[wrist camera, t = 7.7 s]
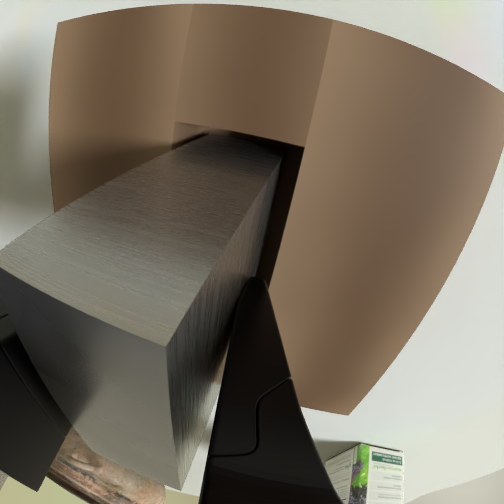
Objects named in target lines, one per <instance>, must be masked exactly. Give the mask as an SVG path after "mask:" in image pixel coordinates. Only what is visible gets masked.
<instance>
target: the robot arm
mask: <svg viewBox="0 0 504 504" xmlns="http://www.w3.org/2000/svg"><path fill="white" fill-rule="evenodd" d="M71 427H72V424H71V423H70V422H69V420H68V419H67V418H66V416H65V415H64V413H63V412H62V410H61V409H60V407H59V406H58V404H57V403H56V401H55V400H54V398H53V397H52V395H51V394H50V392H49V391H48V389H47V387H46V386H45V384H44V382H43V381H42V379H41V377H40V376H39V374H38V372H37V371H36V369H35V367H34V365H33V363H32V362H31V360H30V358H29V356H28V354H27V352H26V350H25V348H24V346H23V344H22V343H21V340H20V338H19V336H18V334H17V332H16V330H15V328H14V326H13V324H12V321H11V319H10V317H9V315H8V312H7V310H6V308H5V305H4V303H3V300H2V298H1V295H0V490H1V488H2V486H3V484H4V483H5V481H6V479H7V477H8V476H10V477H12V478H13V479H15V480H17V481H19V482H20V483H22V484H24V485H25V486H27V487H29V488H31V489H33V490H35V491H36V492H37V491H38V490H39V488H40V486H41V484H42V482H43V480H44V478H45V476H46V474H47V472H48V470H49V469H50V467H51V465H52V463H53V461H54V459H55V457H56V455H57V453H58V451H59V450H60V448H61V446H62V444H63V442H64V440H65V439H66V438H65V437H66V436H67V435H68V433H69V431H70V429H71ZM198 504H344V503H343V501H342V500H341V499H340V497H339V495H338V494H337V492H336V490H335V488H334V486H333V484H332V482H331V480H330V478H329V475H328V473H327V471H326V469H325V466H324V464H323V462H322V459H321V457H320V455H319V453H318V450H317V448H316V446H315V443H314V441H313V439H312V436H311V434H310V432H309V429H308V427H307V424H306V421H305V419H304V416H303V414H302V411H301V407H300V404H299V401H298V398H297V394H296V391H295V387H294V383H293V380H292V379H291V373H290V369H289V365H288V362H287V358H286V354H285V350H284V347H283V343H282V339H281V335H280V332H279V328H278V324H277V321H276V317H275V313H274V309H273V306H272V302H271V298H270V295H269V291H268V287H267V284H266V281H265V280H264V279H261V278H257V277H254V276H251V277H249V279H248V281H247V283H246V286H245V288H244V290H243V292H242V294H241V296H240V298H239V300H238V303H237V306H236V310H235V315H234V320H233V325H232V330H231V335H230V341H229V346H228V351H227V356H226V361H225V366H224V371H223V377H222V382H221V387H220V392H219V397H218V403H217V408H216V413H215V418H214V424H213V429H212V434H211V439H210V445H209V450H208V455H207V460H206V466H205V471H204V476H203V482H202V487H201V492H200V498H199V503H198Z"/></svg>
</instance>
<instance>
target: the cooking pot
mask: <svg viewBox="0 0 504 504" xmlns="http://www.w3.org/2000/svg"><path fill="white" fill-rule="evenodd" d="M65 438H66V439H65V440H64V442H63V444H62V446H61V448H60V450H59V451H58V453H57V455H56V457H55V459H54V461H53V463H52V465H51V467H50V469H49V470H48V472H47V474H46V476H47V477H48V478H49V479H51V480H52V481H54V482H55V483H56V484H58V485H59V486H61V487H63V488H64V489H66V490H67V491H69V492H70V493H72V494H74V495H75V496H77V497H78V498H80V499H82V500H83V501H85V502H87V503H89V504H164V501H165V486H164V484H161V483H159V482H156V481H154V480H152V479H149V478H147V477H144V476H142V475H140V474H138V473H135V472H133V471H131V470H129V469H127V468H125V467H123V466H120V465H118V464H116V463H114V462H112V461H110V460H109V459H107V458H105V457H103V456H101V455H99V454H97V453H95V452H94V451H92V450H91V449H90V448H89V446H88V445H87V444H86V443H85V441H84V440H83V439H82V438H81V436H80V435H79V434H78V432H77V431H76V430H75V428H74V427H73V426H72V427H71V429H70V431H69V433H68V435H67V436H66V437H65Z"/></svg>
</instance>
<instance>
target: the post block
mask: <svg viewBox="0 0 504 504" xmlns="http://www.w3.org/2000/svg"><path fill="white" fill-rule="evenodd" d="M209 134H215V135H221V136H226V137H231V138H237V139H242V140H246V141H251V142H256V143H261V144H265V145H270V146H274V147H278V148H283V149H287V152H286V156H285V161H284V165H283V170H282V174H281V179H280V183H279V188H278V192H277V197H276V201H275V206H274V210H273V214H272V219H271V223H270V228H269V232H268V236H267V241H266V245H265V249H264V254H263V258H262V262H261V267H260V271H259V275H258V278H261V279H264V280H265V281H266V284H267V287H268V291H269V295H270V298H271V302H272V306H273V309H274V313H275V317H276V321H277V324H278V328H279V332H280V335H281V339H282V343H283V347H284V350H285V354H286V358H287V362H288V365H289V369H290V373H291V379H292V380H293V383H294V387H295V391H296V394H297V398H298V401H299V404H300V406H301V407H305V408H310V409H315V410H320V411H325V412H330V413H336V414H342V415H349V414H350V413H351V412H352V411H353V410H354V408H355V407H356V406H357V405H358V404H359V403H360V402H361V400H362V399H363V398H364V397H365V396H366V395H367V393H368V392H369V391H370V390H371V389H372V387H373V386H374V385H375V384H376V383H377V381H378V380H379V379H380V378H381V376H382V375H383V374H384V373H385V371H386V370H387V369H388V367H389V366H390V365H391V363H392V362H393V361H394V359H395V358H396V357H397V355H398V354H399V353H400V351H401V350H402V349H403V347H404V346H405V344H406V343H407V342H408V340H409V339H410V337H411V336H412V334H413V333H414V331H415V330H416V328H417V327H418V325H419V324H420V322H421V321H422V319H423V318H424V316H425V315H426V313H427V312H428V310H429V308H430V307H431V305H432V304H433V302H434V300H435V299H436V297H437V295H438V294H439V292H440V290H441V288H442V287H443V285H444V283H445V281H446V280H447V278H448V276H449V274H450V272H451V271H452V269H453V267H454V265H455V263H456V261H457V259H458V257H459V255H460V253H461V252H462V250H463V248H464V245H465V243H466V241H467V239H468V237H469V235H470V233H471V231H472V229H473V226H474V224H475V222H476V220H477V217H478V215H479V213H480V210H481V208H482V206H483V203H484V201H485V198H486V196H487V193H488V191H489V188H490V185H491V183H492V180H493V177H494V174H495V171H496V168H497V166H498V163H499V159H500V156H501V153H502V150H503V147H504V93H503V92H502V91H500V90H499V89H497V88H495V87H494V86H492V85H491V84H489V83H487V82H486V81H484V80H482V79H481V78H479V77H477V76H475V75H474V74H472V73H470V72H468V71H466V70H464V69H463V68H461V67H459V66H457V65H455V64H453V63H451V62H449V61H447V60H445V59H443V58H441V57H439V56H436V55H434V54H432V53H430V52H428V51H425V50H423V49H421V48H418V47H416V46H413V45H411V44H408V43H406V42H403V41H401V40H398V39H395V38H393V37H390V36H387V35H384V34H381V33H378V32H375V31H372V30H369V29H365V28H362V27H359V26H355V25H352V24H348V23H344V22H340V21H336V20H332V19H328V18H324V17H319V16H314V15H309V14H304V13H299V12H293V11H287V10H280V9H272V8H264V7H255V6H243V5H227V4H172V5H157V6H145V7H136V8H128V9H121V10H114V11H108V12H103V13H97V14H92V15H87V16H83V17H79V18H74V19H70V20H66V21H62V22H59V23H58V25H57V31H56V37H55V44H54V51H53V59H52V69H51V81H50V97H49V155H50V172H51V185H52V195H53V204H54V212H55V213H56V212H57V211H59V210H60V209H62V208H64V207H65V206H67V205H69V204H70V203H72V202H74V201H75V200H77V199H79V198H80V197H82V196H84V195H86V194H87V193H89V192H91V191H93V190H94V189H96V188H98V187H100V186H102V185H103V184H105V183H107V182H109V181H111V180H113V179H115V178H116V177H118V176H120V175H122V174H124V173H126V172H128V171H130V170H132V169H134V168H136V167H138V166H140V165H142V164H144V163H146V162H148V161H150V160H152V159H154V158H157V157H159V156H161V155H163V154H165V153H167V152H170V151H172V150H174V149H176V148H179V147H181V146H183V145H185V144H188V143H190V142H192V141H195V140H197V139H200V138H202V137H204V136H207V135H209Z"/></svg>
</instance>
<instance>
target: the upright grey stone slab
mask: <svg viewBox="0 0 504 504" xmlns="http://www.w3.org/2000/svg"><path fill="white" fill-rule="evenodd" d="M286 152H287V149H283V148H278V147H274V146H270V145H265V144H261V143H256V142H251V141H246V140H242V139H237V138H231V137H226V136H221V135H215V134H209V135H207V136H204V137H202V138H200V139H197V140H195V141H192V142H190V143H188V144H185V145H183V146H181V147H179V148H176V149H174V150H172V151H170V152H167V153H165V154H163V155H161V156H159V157H157V158H154V159H152V160H150V161H148V162H146V163H144V164H142V165H140V166H138V167H136V168H134V169H132V170H130V171H128V172H126V173H124V174H122V175H120V176H118V177H116V178H115V179H113V180H111V181H109V182H107V183H105V184H103V185H102V186H100V187H98V188H96V189H94V190H93V191H91V192H89V193H87V194H86V195H84V196H82V197H80V198H79V199H77V200H75V201H74V202H72V203H70V204H69V205H67V206H65V207H64V208H62V209H60V210H59V211H57V212H56V213H54V214H52V215H51V216H49V217H48V218H46V219H45V220H43V221H42V222H40V223H39V224H37V225H36V226H34V227H33V228H31V229H30V230H28V231H27V232H25V233H24V234H22V235H21V236H19V237H18V238H17V239H15V240H14V241H12V242H11V243H10V244H8V245H7V246H5V247H4V248H3V249H1V250H0V295H1V298H2V300H3V303H4V305H5V308H6V310H7V312H8V315H9V317H10V319H11V321H12V324H13V326H14V328H15V330H16V332H17V334H18V336H19V338H20V340H21V343H22V344H23V346H24V348H25V350H26V352H27V354H28V356H29V358H30V360H31V362H32V363H33V365H34V367H35V369H36V371H37V372H38V374H39V376H40V377H41V379H42V381H43V382H44V384H45V386H46V387H47V389H48V391H49V392H50V394H51V395H52V397H53V398H54V400H55V401H56V403H57V404H58V406H59V407H60V409H61V410H62V412H63V413H64V415H65V416H66V418H67V419H68V420H69V422H70V423H71V424H72V426H73V427H74V428H75V430H76V431H77V432H78V434H79V435H80V436H81V438H82V439H83V440H84V441H85V443H86V444H87V445H88V446H89V448H90V449H91V450H92V451H94V452H95V453H97V454H99V455H101V456H103V457H105V458H107V459H109V460H110V461H112V462H114V463H116V464H118V465H120V466H123V467H125V468H127V469H129V470H131V471H133V472H135V473H138V474H140V475H142V476H144V477H147V478H149V479H152V480H154V481H156V482H159V483H161V484H164V485H167V486H169V487H172V488H175V489H177V490H180V491H181V490H182V487H183V485H184V482H185V479H186V477H187V474H188V472H189V469H190V467H191V464H192V461H193V459H194V456H195V454H196V451H197V449H198V446H199V443H200V441H201V438H202V435H203V433H204V430H205V428H206V425H207V422H208V420H209V417H210V414H211V412H212V409H213V406H214V404H215V401H216V398H217V396H218V393H219V390H220V387H221V382H222V377H223V371H224V366H225V361H226V356H227V351H228V346H229V341H230V335H231V330H232V325H233V320H234V315H235V310H236V306H237V303H238V300H239V298H240V296H241V294H242V292H243V290H244V288H245V286H246V283H247V281H248V279H249V277H251V276H254V277H257V278H258V275H259V271H260V267H261V262H262V258H263V254H264V249H265V245H266V241H267V236H268V232H269V228H270V223H271V219H272V214H273V210H274V206H275V201H276V197H277V192H278V188H279V183H280V179H281V174H282V170H283V165H284V161H285V156H286Z"/></svg>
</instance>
